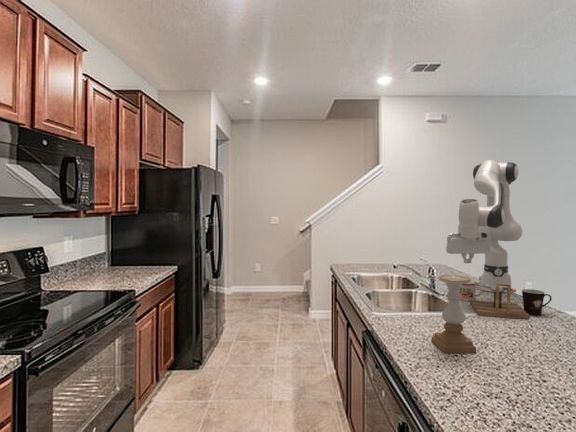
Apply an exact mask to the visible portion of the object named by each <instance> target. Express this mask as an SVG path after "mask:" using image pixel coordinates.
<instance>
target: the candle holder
mask: <svg viewBox="0 0 576 432" xmlns="http://www.w3.org/2000/svg"><path fill="white" fill-rule="evenodd" d="M471 280H472V279H471V278H470V277H469V276H466V277H465V276H462V275H454V274H453V275H452V274H447V275H446V274H444V275H439V276H438V281H440V282H442V283H443V282H444V283H445V285H446V287H447V288H448V292H447V293H446V295H445V297H446V299H447V301H448V303H447V305H446V307H445V309H444V310H443V311H442V314H441V318H442V320H443V321H445V323H444V325H443V328H444V330H443V331H442V332H435V333H434V334H433V336H431V343H432V344H433V345H434V346H435V347H436V348H438V349H439V350H440V351H441V352H442V353H444V354H476V353H477V347H476V346H475V345H474V342H473V341H472V340H471V339H469V338H468V336H466V335H465V334H464V333H463V331H464V327H463V323H464V322H465V320H466V315H465V312H464V311H463V309H462V307H461V305H460V303H461V299H462V296H461V294H460V288H461V287H462V285H463V284H465V283H470V281H471Z"/></svg>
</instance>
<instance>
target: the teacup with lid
mask: <svg viewBox="0 0 576 432" xmlns="http://www.w3.org/2000/svg"><path fill="white" fill-rule="evenodd" d="M464 277H467V276H464ZM474 282H475V281H474V280H472V279H471V281H470V283H465V284H463V285H462V287H461V288H460V294H461V296H462V299H461V300H460V302H461V301H463V302H470V300H476V297H479V296H481V295H482V294H483V290H482V288H481V287H479V286H476V285H474ZM477 288H480V289H479V290H480V292H479V293H478V294H476V289H477Z"/></svg>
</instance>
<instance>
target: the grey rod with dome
mask: <svg viewBox="0 0 576 432" xmlns="http://www.w3.org/2000/svg"><path fill="white" fill-rule="evenodd" d="M474 285H476V286H481V287H485V288H490V289H491V291H494V292H496V284H493V285H488V284H483V283H480V282H478V281H474ZM512 288H513V287H512ZM505 290H507V288H505V286H499V292H505ZM510 291H511V292H512V293H516V292H517V289H516V288H513V289H510ZM494 292H493V293H494ZM505 293H506V292H505Z"/></svg>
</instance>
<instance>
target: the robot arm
mask: <svg viewBox="0 0 576 432" xmlns="http://www.w3.org/2000/svg"><path fill="white" fill-rule="evenodd" d="M518 176H519V167H518V165H517V164H516V163H515V162H509V161H508V162H497V161H496V160H493V159H487V160H485V161H483V162H482V163H479V164H476V165H475V166H474V168H473V170H472V177H473V186H474V188H475V190H476V191H477V192H478V193H480V194H482V195H484V196H487V197H486V206H479V201H478V199H475V198H474V199H473V198H466V199H462V200H461V201H460V203H459V207H458V221H459V223H458V227H457V233H450V234H448V235H447V238H446V241H447V243H446V246H445V249H446V250H445V251H446V253H447V254H451V255H453V254H454V255H455V254H456V255H458V254H459V255H461V257H462V259H463V264H472V262H473V261H472V260H473V258H474V257H475V255H479V254H480V255H481V254H484V264H483V270H484V271H483V273H482V274H481V275H479V276H478V281H479V283H483V284H488V285H493V284H510V285H511V287H510V289H513V287H512V276H511V275H510V274H509V265H508V257H509V256H508V254H509V253H508V251H507V250H506V248H503V247H502V246H501V245H500V243H499V241H500V242H501V241H502V242H516V241H519V240H520V238H521V237H522V235H523V228H522V226H521V224H520V223H518V222H517V221H516V220H515V219H514V218H513V215H512V214H511V211H510V210H511V209H510V195H511V194H510V193H511V192H510V191H511V190H510V185H511V184H512V183H513V182H514V181H516V180H517V179H518ZM467 256H468V258H467ZM479 287H481V286H479ZM481 288H482V291H486V292H492V293H494V291H491V289H490V288H485V287H481ZM505 288H507V286H505ZM476 289H477V290H481V289H480V288H476ZM511 292H512V291H510V293H511ZM504 293H507V290H505V292H502V294H504Z"/></svg>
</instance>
